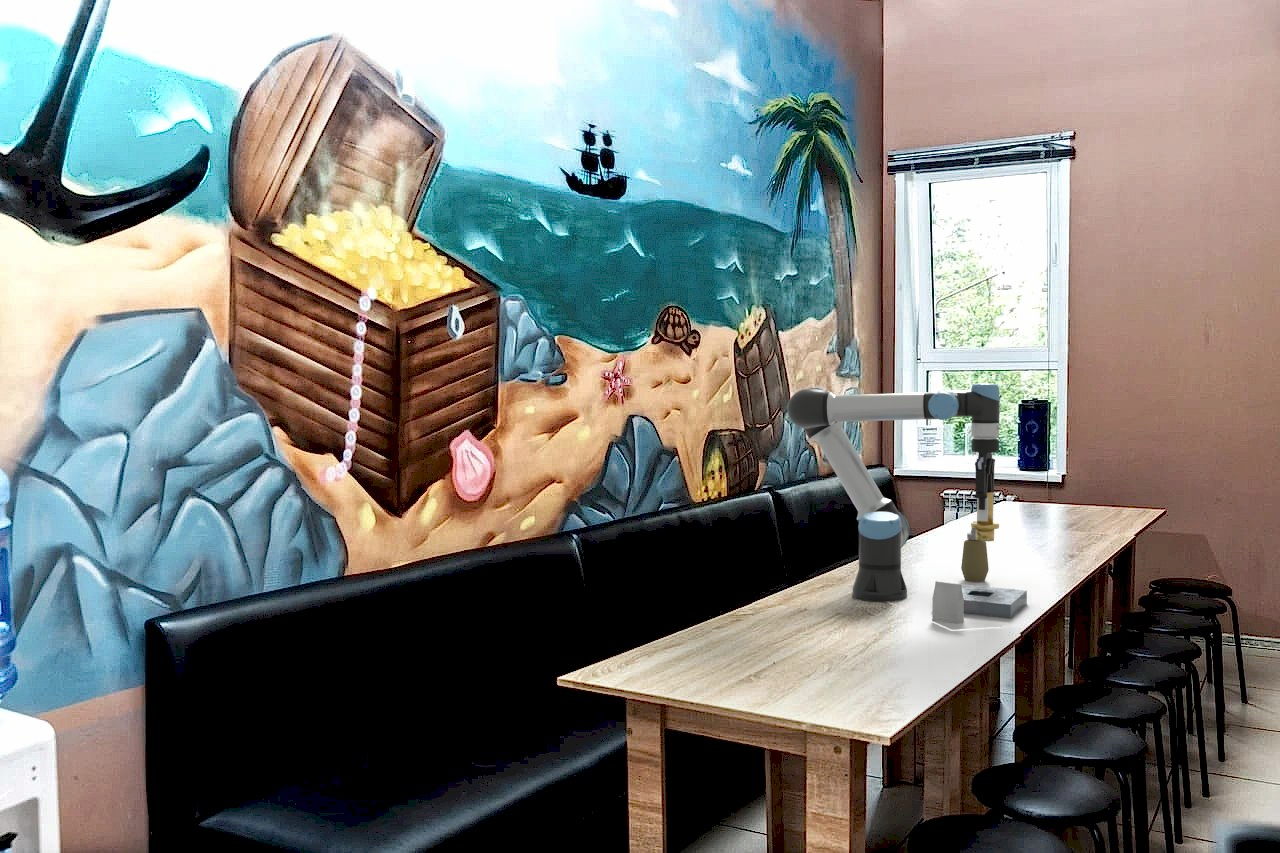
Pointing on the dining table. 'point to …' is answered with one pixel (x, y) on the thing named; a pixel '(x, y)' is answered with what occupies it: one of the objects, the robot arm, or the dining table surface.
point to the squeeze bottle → (974, 558)
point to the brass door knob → (986, 523)
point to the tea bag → (948, 602)
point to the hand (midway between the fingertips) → (984, 519)
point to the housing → (993, 601)
